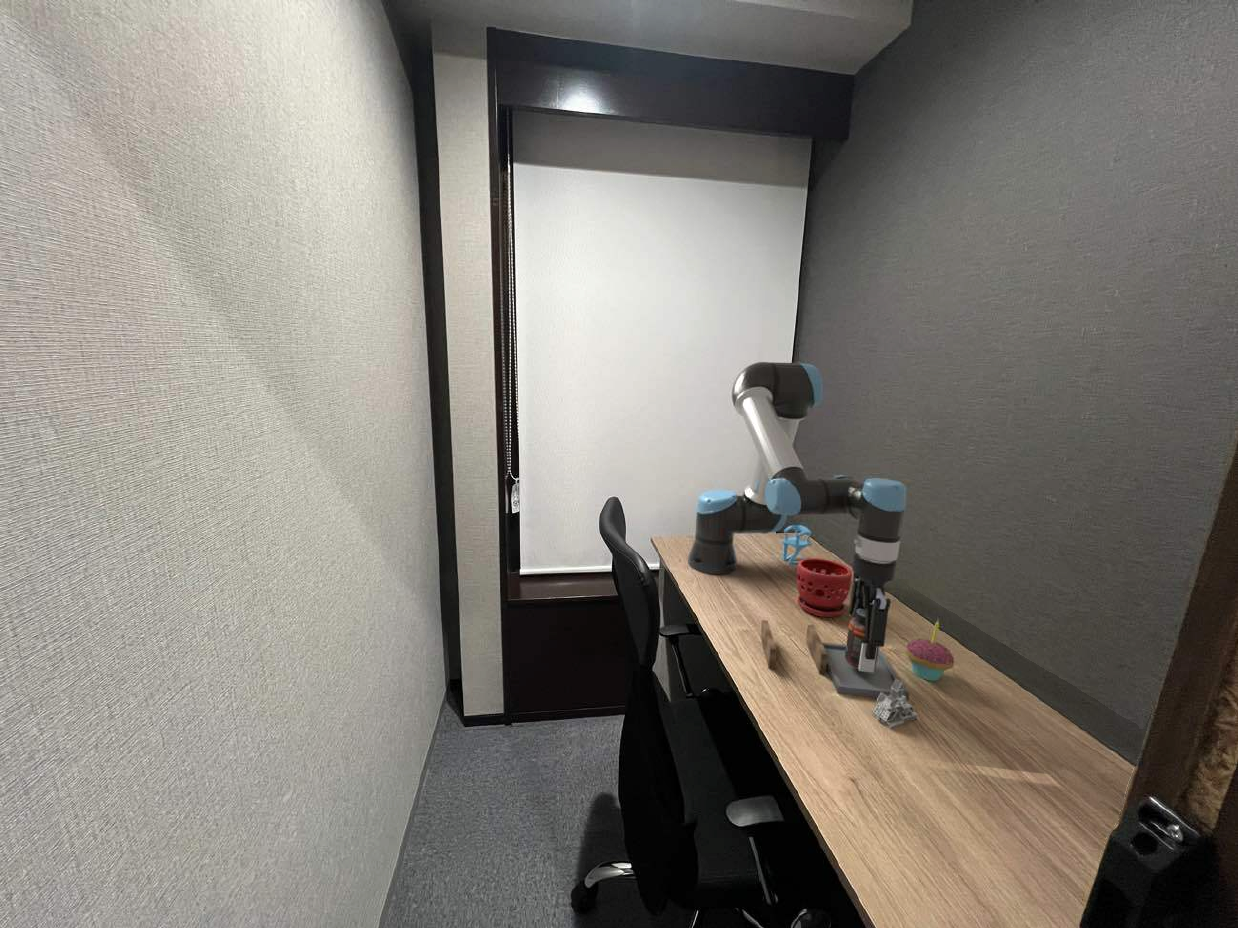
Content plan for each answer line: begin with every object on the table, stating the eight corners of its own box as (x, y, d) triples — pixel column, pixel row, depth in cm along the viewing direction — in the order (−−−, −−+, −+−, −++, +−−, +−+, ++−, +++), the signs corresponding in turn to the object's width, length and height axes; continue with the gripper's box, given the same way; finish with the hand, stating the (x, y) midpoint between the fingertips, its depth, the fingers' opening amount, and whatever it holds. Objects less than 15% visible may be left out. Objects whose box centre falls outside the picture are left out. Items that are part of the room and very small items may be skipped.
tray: (817, 647, 113) (817, 641, 113) (877, 653, 111) (878, 647, 111) (837, 693, 97) (838, 686, 97) (908, 700, 96) (909, 693, 95)
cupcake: (910, 657, 110) (918, 607, 108) (955, 675, 104) (965, 622, 102) (897, 673, 104) (906, 620, 102) (944, 693, 98) (954, 637, 96)
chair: (776, 559, 164) (779, 524, 162) (794, 555, 168) (797, 521, 166) (794, 568, 157) (798, 532, 155) (812, 564, 161) (816, 528, 159)
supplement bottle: (879, 673, 101) (887, 622, 98) (848, 668, 102) (855, 618, 99) (871, 656, 106) (878, 607, 104) (841, 652, 107) (848, 604, 105)
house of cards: (882, 690, 99) (888, 655, 98) (923, 718, 91) (930, 681, 90) (849, 700, 96) (854, 664, 94) (888, 731, 88) (894, 692, 87)
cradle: (760, 637, 116) (762, 620, 115) (811, 642, 115) (813, 624, 114) (768, 668, 105) (770, 648, 104) (825, 674, 103) (827, 654, 102)
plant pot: (858, 616, 128) (864, 573, 126) (817, 624, 123) (822, 579, 121) (821, 594, 140) (826, 554, 138) (783, 600, 135) (787, 559, 133)
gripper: (841, 538, 109) (829, 635, 114) (872, 574, 90) (856, 687, 95) (877, 541, 108) (863, 638, 113) (916, 578, 90) (898, 692, 94)
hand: (860, 660), depth 104 cm, fingers closed on supplement bottle, 6 cm apart
